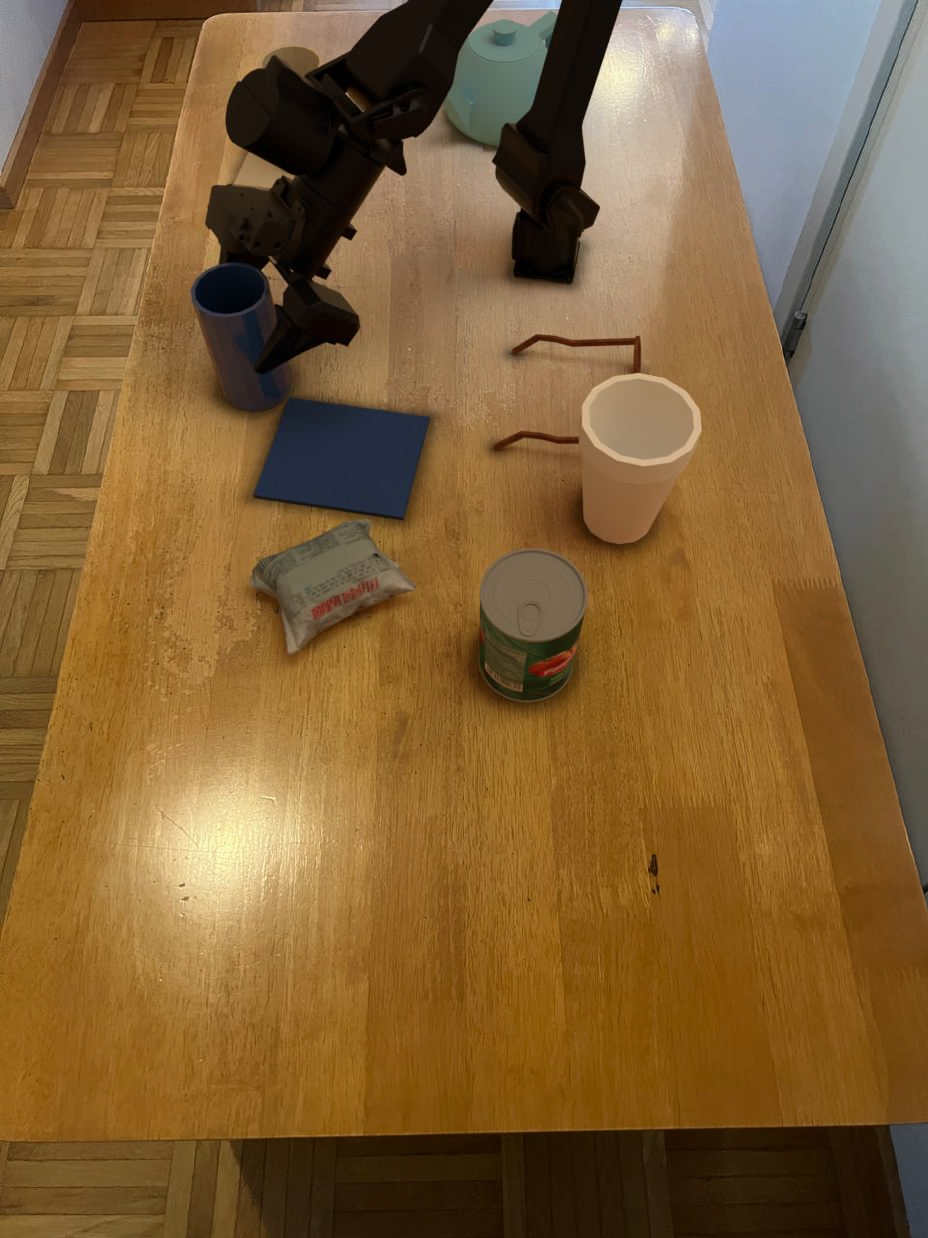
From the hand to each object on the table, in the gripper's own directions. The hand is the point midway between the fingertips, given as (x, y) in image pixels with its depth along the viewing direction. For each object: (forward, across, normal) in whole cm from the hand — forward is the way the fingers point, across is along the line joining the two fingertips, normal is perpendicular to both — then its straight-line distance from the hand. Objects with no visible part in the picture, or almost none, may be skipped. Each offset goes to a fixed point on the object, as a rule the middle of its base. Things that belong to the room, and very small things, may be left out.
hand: (236, 340), depth 85 cm
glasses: (-13, +18, +23) cm, 32 cm away
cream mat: (-10, -29, +20) cm, 37 cm away
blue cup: (+4, -1, +6) cm, 7 cm away
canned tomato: (0, +39, +10) cm, 40 cm away
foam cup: (-10, +31, +20) cm, 38 cm away
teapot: (-27, -24, +37) cm, 51 cm away
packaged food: (+8, +25, +2) cm, 26 cm away
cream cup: (-10, -29, +20) cm, 37 cm away
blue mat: (+2, +12, +8) cm, 14 cm away
